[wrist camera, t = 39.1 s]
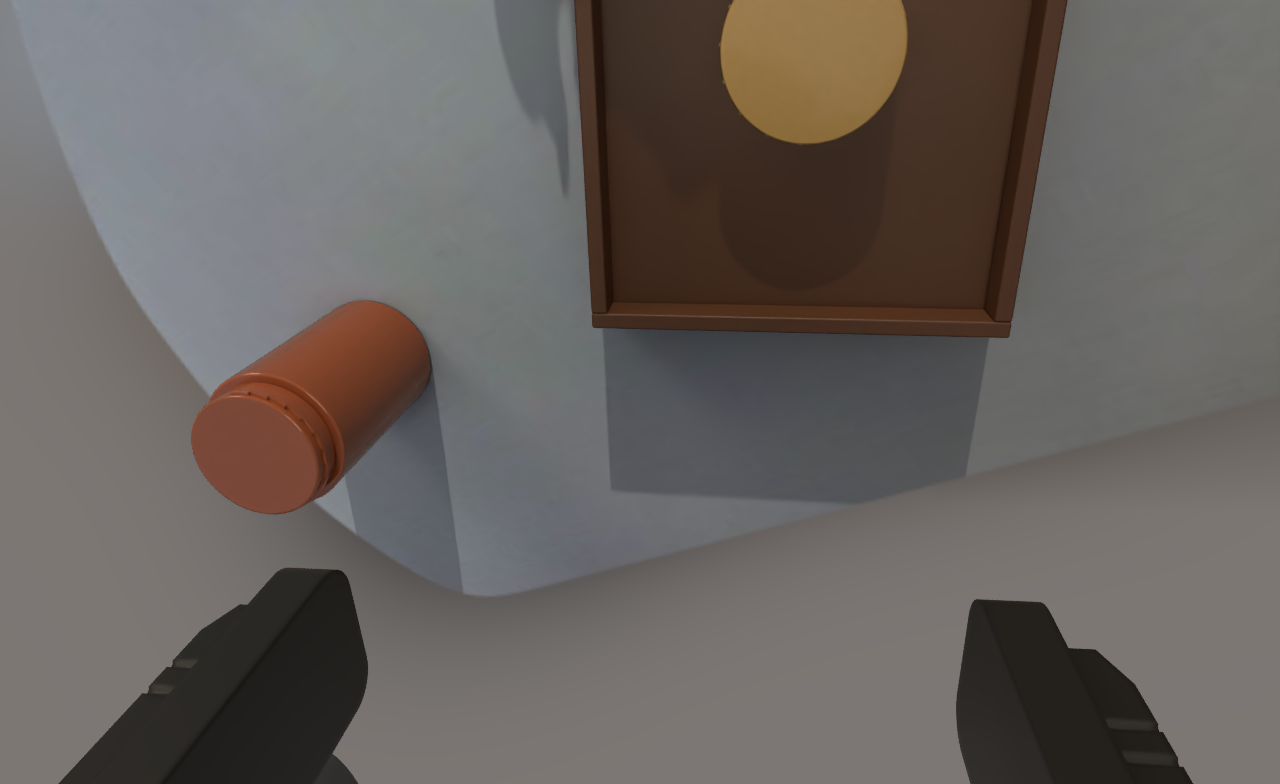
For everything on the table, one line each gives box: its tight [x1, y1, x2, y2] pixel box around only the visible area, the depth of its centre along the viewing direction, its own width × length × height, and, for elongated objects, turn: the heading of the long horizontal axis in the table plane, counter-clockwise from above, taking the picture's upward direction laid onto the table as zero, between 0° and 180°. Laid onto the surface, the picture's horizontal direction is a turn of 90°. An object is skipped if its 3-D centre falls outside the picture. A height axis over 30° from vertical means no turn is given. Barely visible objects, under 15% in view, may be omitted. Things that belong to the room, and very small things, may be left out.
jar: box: [191, 301, 431, 514], centre depth 31 cm, size 5×5×9 cm
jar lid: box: [719, 0, 908, 145], centre depth 26 cm, size 6×6×2 cm
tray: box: [574, 0, 1067, 338], centre depth 27 cm, size 19×15×2 cm
